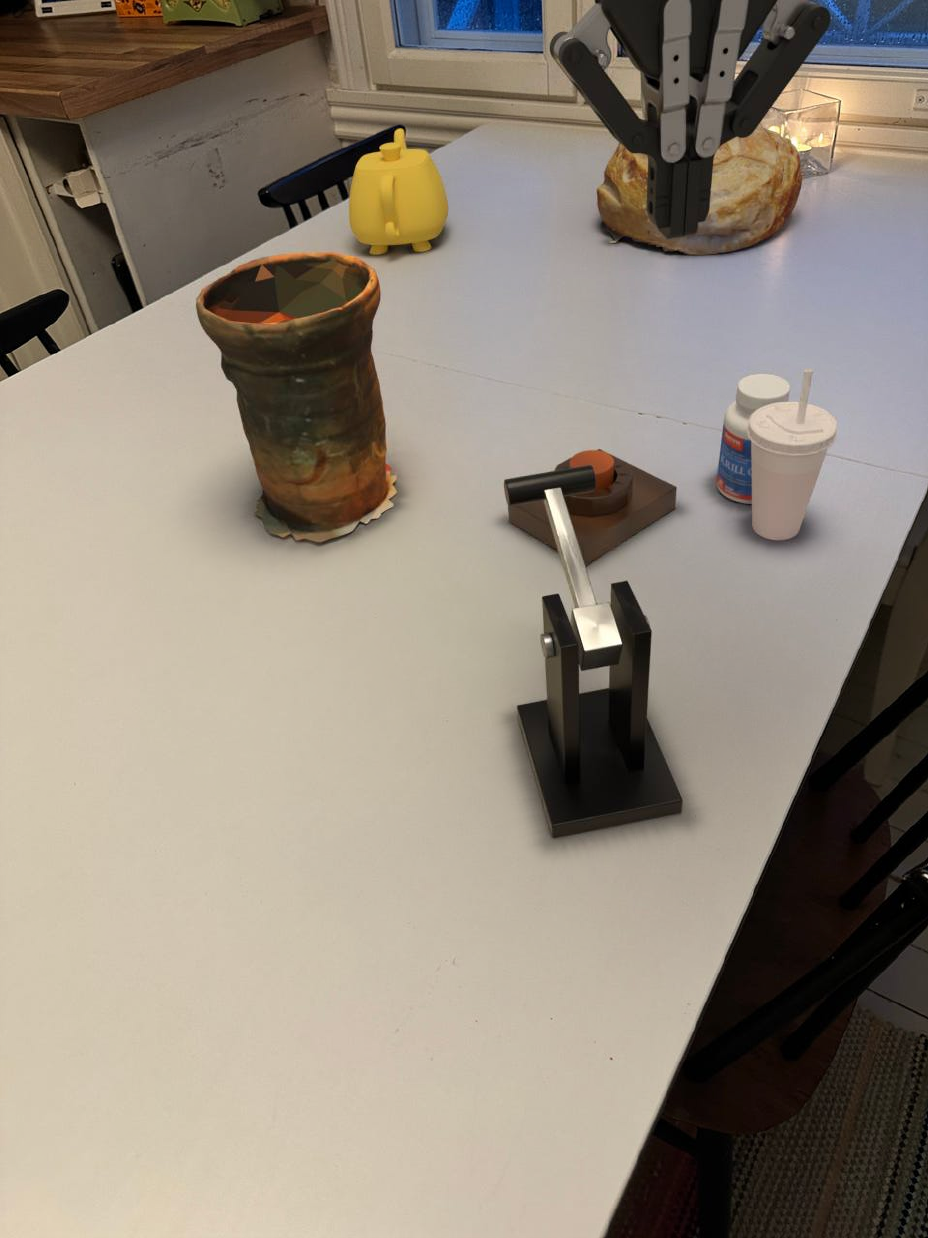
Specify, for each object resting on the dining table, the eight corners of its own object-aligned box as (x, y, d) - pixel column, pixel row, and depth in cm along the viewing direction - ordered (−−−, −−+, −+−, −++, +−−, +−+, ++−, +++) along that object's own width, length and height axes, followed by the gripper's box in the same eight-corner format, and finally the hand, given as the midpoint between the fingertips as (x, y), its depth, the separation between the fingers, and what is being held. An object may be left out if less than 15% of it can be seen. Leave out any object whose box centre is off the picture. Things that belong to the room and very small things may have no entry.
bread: (615, 199, 141) (608, 90, 131) (806, 187, 131) (814, 67, 121) (574, 266, 124) (562, 145, 114) (789, 257, 114) (797, 125, 104)
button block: (598, 469, 84) (599, 430, 81) (675, 508, 79) (678, 468, 76) (508, 521, 79) (505, 482, 77) (583, 567, 74) (583, 526, 71)
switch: (503, 494, 59) (503, 470, 57) (587, 479, 59) (590, 455, 57) (552, 677, 52) (554, 657, 50) (647, 659, 52) (652, 638, 50)
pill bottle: (705, 495, 80) (715, 392, 73) (730, 464, 83) (742, 363, 76) (767, 512, 77) (783, 407, 70) (791, 480, 80) (808, 376, 74)
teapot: (345, 267, 126) (328, 168, 118) (367, 216, 141) (353, 125, 133) (445, 261, 125) (434, 159, 116) (456, 210, 139) (448, 117, 131)
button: (591, 462, 78) (591, 444, 77) (622, 478, 76) (623, 460, 75) (560, 480, 77) (560, 462, 76) (592, 497, 75) (591, 478, 74)
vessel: (440, 503, 82) (412, 282, 69) (295, 566, 77) (234, 341, 64) (366, 438, 92) (328, 233, 79) (232, 491, 87) (168, 281, 74)
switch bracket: (517, 716, 63) (505, 570, 54) (632, 695, 63) (638, 546, 55) (552, 838, 55) (545, 690, 47) (682, 812, 56) (698, 661, 47)
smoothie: (792, 560, 72) (822, 399, 63) (719, 532, 76) (737, 375, 66) (831, 520, 75) (865, 361, 66) (760, 495, 79) (782, 340, 70)
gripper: (561, -200, 33) (569, 279, 45) (914, -245, 34) (832, 237, 45) (518, -198, 39) (535, 227, 50) (821, -236, 39) (769, 191, 51)
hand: (676, 231), depth 48 cm, fingers closed
